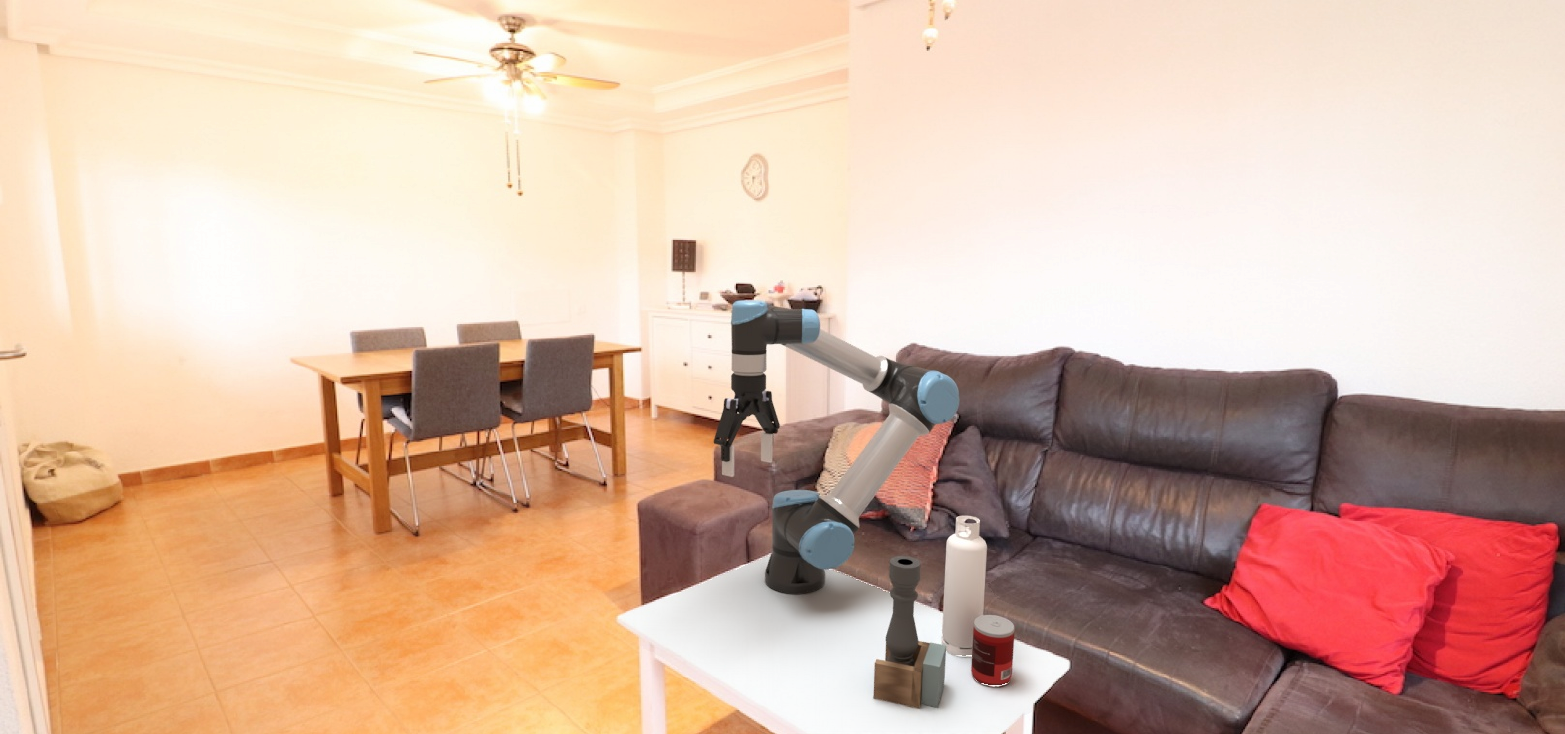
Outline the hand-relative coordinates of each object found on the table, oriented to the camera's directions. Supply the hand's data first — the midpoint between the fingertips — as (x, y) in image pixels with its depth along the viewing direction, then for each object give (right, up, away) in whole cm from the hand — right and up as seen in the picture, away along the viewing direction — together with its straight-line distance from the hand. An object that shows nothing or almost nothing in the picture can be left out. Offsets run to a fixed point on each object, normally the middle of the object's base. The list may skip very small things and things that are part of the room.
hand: (748, 468), depth 161 cm
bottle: (+45, -37, -6) cm, 59 cm away
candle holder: (+30, -39, -21) cm, 53 cm away
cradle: (+30, -39, -21) cm, 53 cm away
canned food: (+48, -39, -17) cm, 64 cm away
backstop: (+36, -39, -23) cm, 58 cm away
